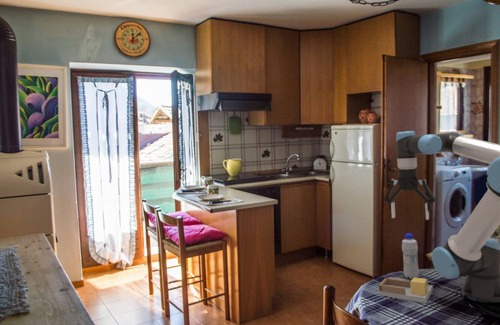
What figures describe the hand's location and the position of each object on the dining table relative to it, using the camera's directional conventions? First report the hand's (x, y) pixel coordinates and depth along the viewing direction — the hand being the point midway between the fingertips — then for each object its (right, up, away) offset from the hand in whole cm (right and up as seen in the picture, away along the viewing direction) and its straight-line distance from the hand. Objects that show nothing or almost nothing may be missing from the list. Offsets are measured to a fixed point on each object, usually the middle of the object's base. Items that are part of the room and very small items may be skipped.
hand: (410, 218), depth 167 cm
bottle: (+5, -28, +11) cm, 30 cm away
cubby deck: (-4, -29, -6) cm, 30 cm away
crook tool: (-5, -27, 0) cm, 28 cm away
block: (-1, -27, -12) cm, 30 cm away
